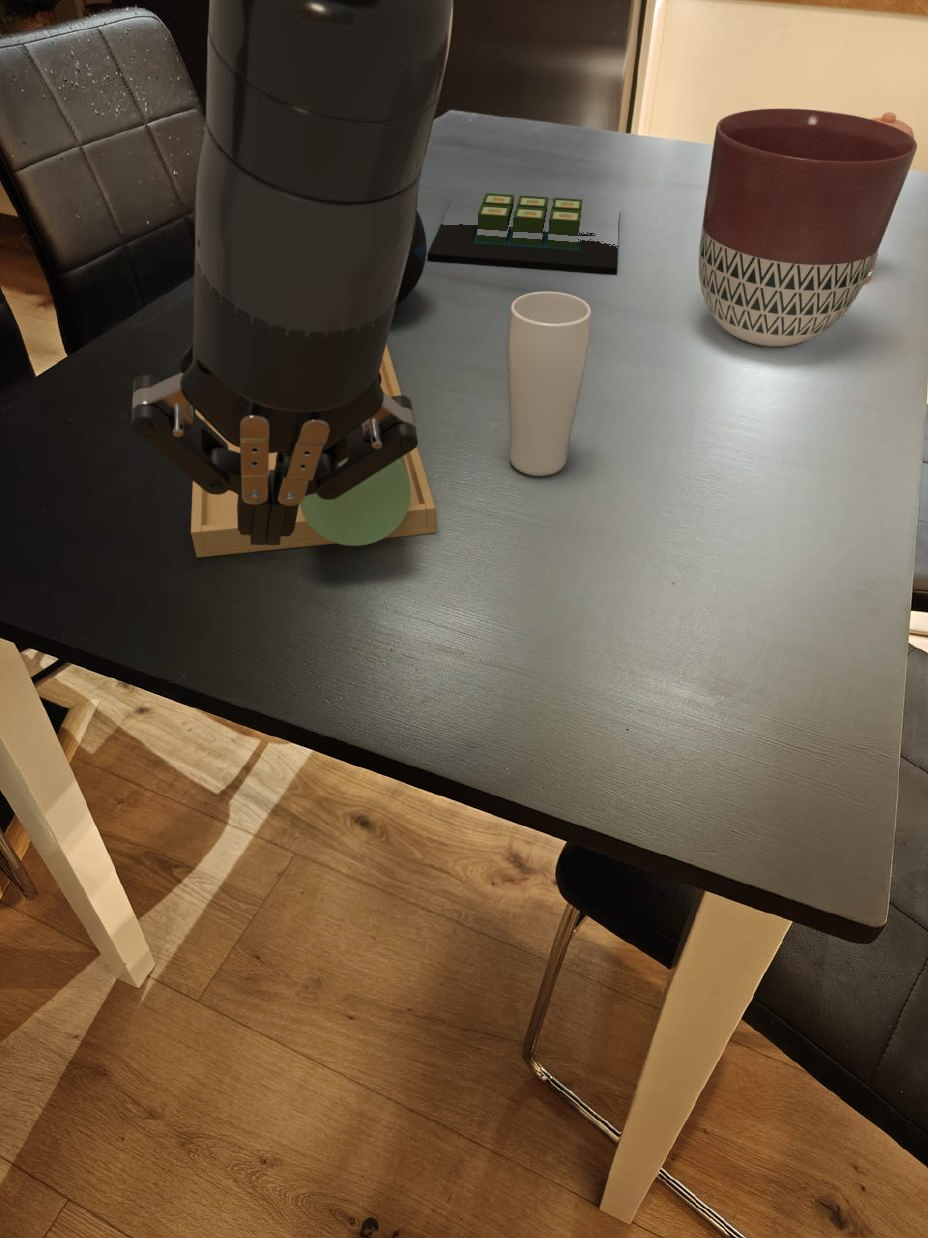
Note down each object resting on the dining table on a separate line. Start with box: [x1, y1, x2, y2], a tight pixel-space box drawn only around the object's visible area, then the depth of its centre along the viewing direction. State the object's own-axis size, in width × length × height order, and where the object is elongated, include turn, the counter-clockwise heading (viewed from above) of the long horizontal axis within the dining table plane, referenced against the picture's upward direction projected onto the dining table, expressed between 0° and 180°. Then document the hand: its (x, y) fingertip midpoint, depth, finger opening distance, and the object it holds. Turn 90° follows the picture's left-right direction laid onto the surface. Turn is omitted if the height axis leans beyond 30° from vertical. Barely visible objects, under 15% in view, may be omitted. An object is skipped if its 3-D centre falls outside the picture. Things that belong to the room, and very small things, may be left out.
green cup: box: [300, 456, 411, 547], centre depth 72 cm, size 8×8×13 cm
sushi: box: [426, 192, 619, 275], centre depth 127 cm, size 25×25×4 cm
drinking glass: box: [507, 291, 592, 477], centre depth 79 cm, size 7×7×15 cm
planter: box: [698, 108, 918, 348], centre depth 98 cm, size 20×20×21 cm
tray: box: [190, 343, 437, 558], centre depth 85 cm, size 20×33×3 cm, turn 11°
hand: (264, 531), depth 47 cm, fingers closed
